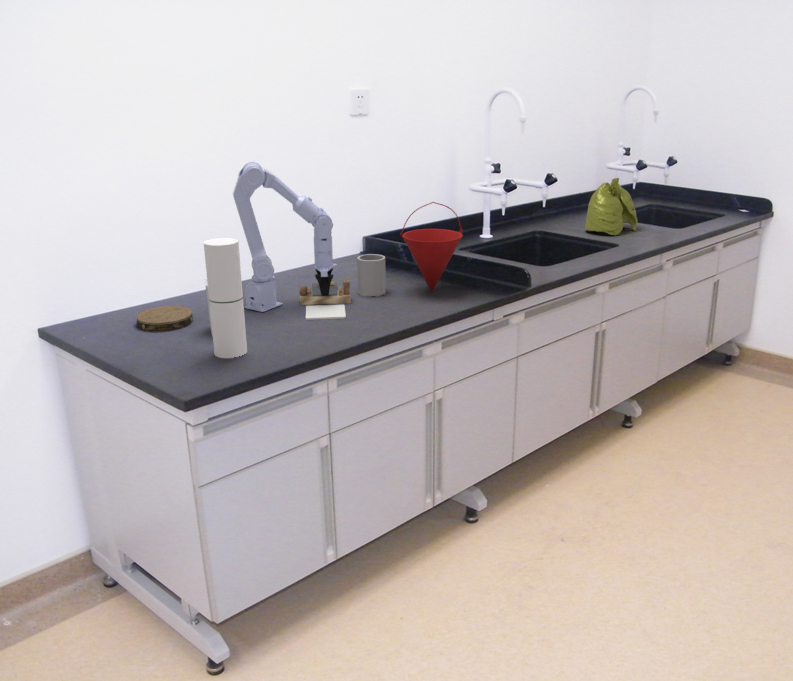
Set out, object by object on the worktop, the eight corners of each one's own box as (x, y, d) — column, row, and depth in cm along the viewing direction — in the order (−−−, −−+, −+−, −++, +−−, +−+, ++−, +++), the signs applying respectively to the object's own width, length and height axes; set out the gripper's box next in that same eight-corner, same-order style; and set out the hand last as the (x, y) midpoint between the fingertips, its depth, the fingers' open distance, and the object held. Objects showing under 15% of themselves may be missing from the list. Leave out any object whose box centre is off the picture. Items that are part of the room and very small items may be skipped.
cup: (353, 294, 250) (352, 259, 246) (366, 287, 258) (365, 253, 254) (377, 298, 247) (377, 262, 242) (390, 290, 254) (389, 255, 250)
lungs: (607, 238, 325) (612, 181, 317) (578, 232, 337) (583, 177, 328) (642, 230, 340) (648, 176, 331) (613, 225, 351) (619, 172, 343)
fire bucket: (450, 280, 265) (452, 194, 255) (473, 296, 248) (475, 204, 237) (392, 286, 259) (391, 198, 249) (410, 302, 242) (410, 208, 231)
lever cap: (312, 296, 240) (311, 284, 239) (312, 292, 244) (312, 281, 243) (337, 295, 241) (337, 284, 240) (337, 291, 245) (337, 280, 244)
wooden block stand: (299, 305, 240) (298, 285, 238) (300, 299, 246) (299, 280, 243) (350, 303, 241) (350, 283, 239) (349, 297, 247) (349, 278, 245)
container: (218, 346, 206) (208, 237, 195) (250, 346, 205) (241, 237, 195) (210, 358, 198) (199, 245, 187) (243, 358, 197) (233, 245, 187)
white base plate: (305, 320, 226) (305, 318, 226) (306, 307, 237) (306, 305, 237) (345, 318, 227) (345, 316, 227) (344, 306, 238) (344, 304, 238)
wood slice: (164, 312, 235) (163, 303, 234) (204, 319, 228) (203, 310, 227) (125, 327, 222) (124, 318, 221) (166, 336, 215) (165, 326, 214)
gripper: (336, 256, 231) (338, 298, 236) (335, 245, 245) (337, 285, 250) (313, 257, 231) (315, 299, 235) (313, 246, 244) (315, 286, 249)
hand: (325, 292), depth 242 cm, fingers open, 6 cm apart
